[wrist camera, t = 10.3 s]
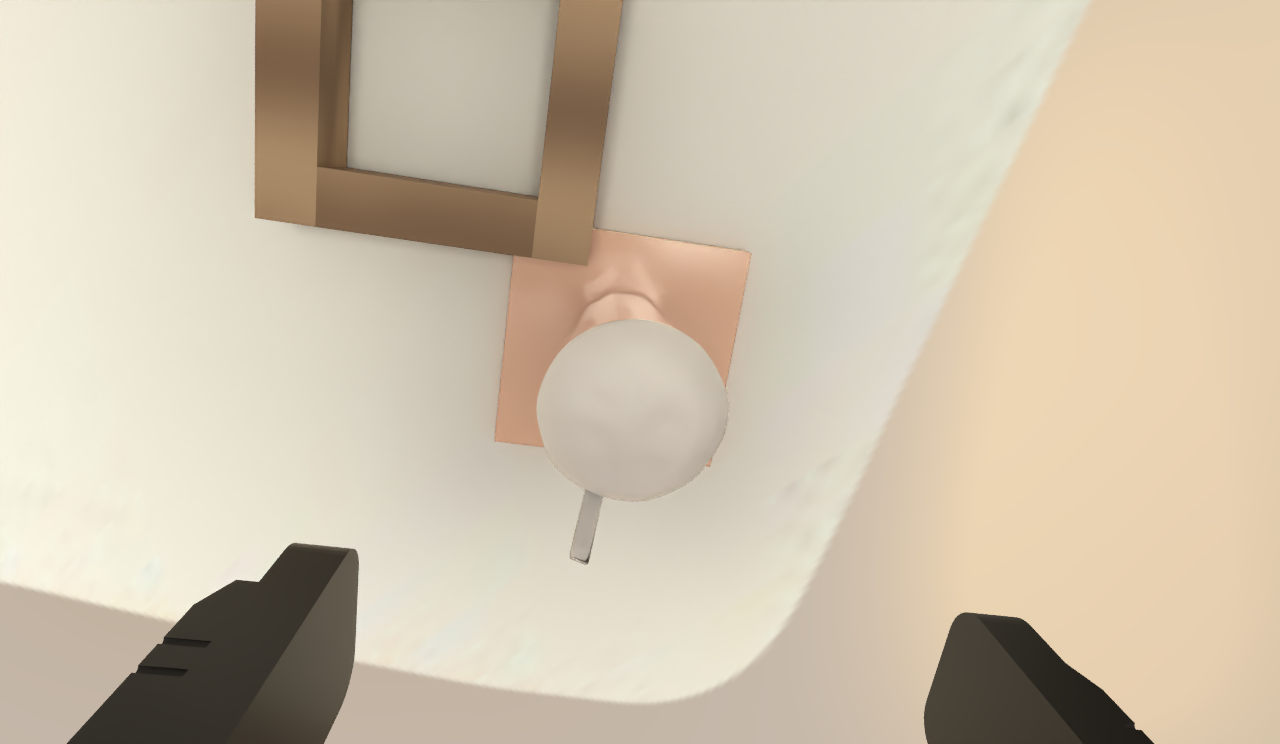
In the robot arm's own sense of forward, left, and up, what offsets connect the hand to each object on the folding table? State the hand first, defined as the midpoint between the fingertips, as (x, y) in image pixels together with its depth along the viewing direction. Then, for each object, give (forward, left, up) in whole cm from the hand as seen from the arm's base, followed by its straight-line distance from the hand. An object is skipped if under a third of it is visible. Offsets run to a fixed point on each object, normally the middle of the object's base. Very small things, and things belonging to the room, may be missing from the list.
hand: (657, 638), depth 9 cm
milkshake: (0, 0, -16) cm, 16 cm away
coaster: (0, 0, -16) cm, 16 cm away
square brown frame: (-8, -6, -16) cm, 19 cm away
